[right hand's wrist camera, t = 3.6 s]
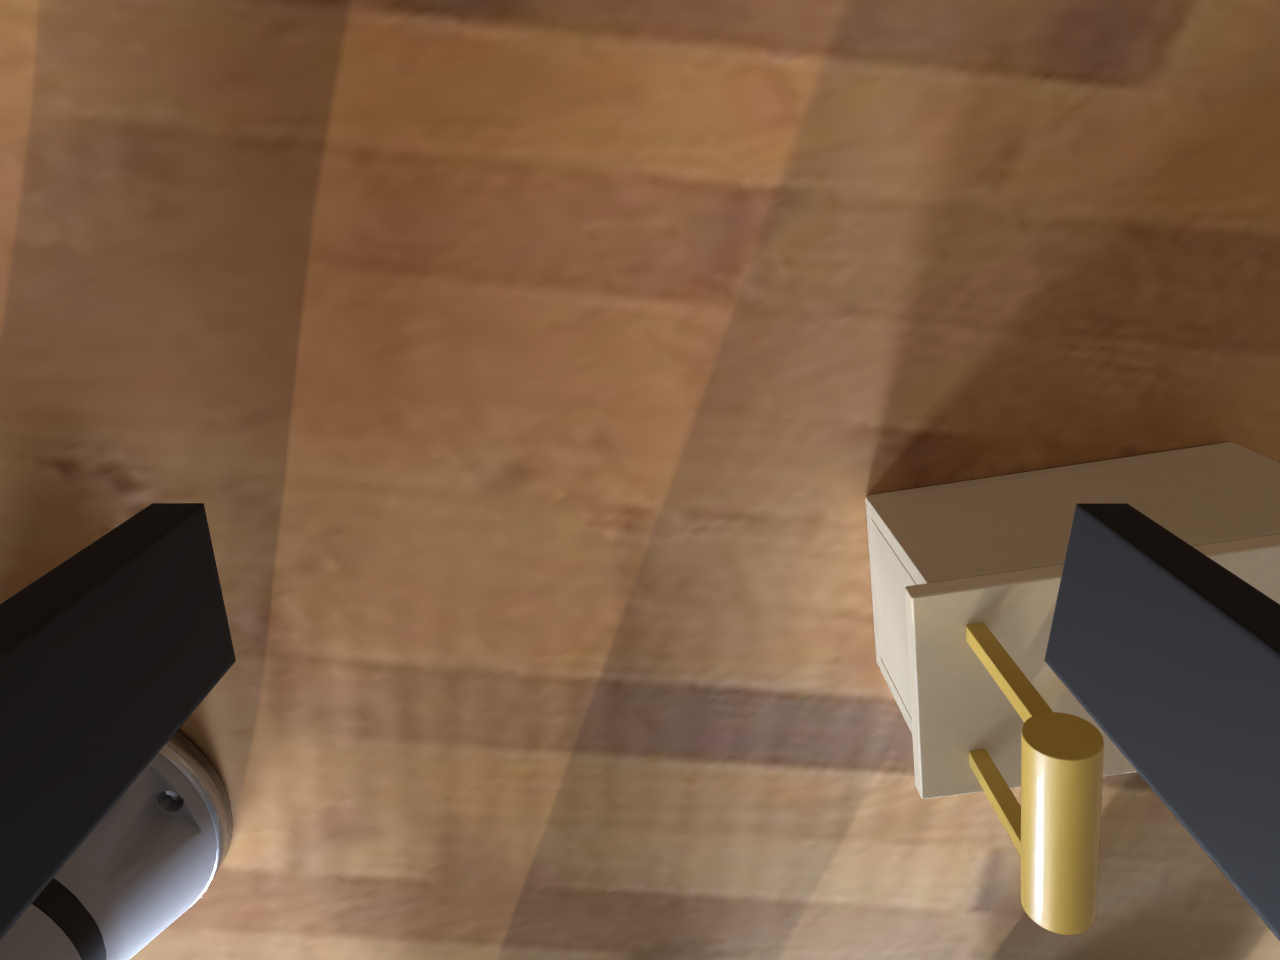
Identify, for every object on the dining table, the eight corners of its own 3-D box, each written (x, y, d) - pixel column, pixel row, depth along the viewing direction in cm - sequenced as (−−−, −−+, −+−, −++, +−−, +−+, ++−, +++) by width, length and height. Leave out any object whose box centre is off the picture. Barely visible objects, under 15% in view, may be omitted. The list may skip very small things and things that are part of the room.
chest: (876, 661, 42) (935, 781, 34) (864, 495, 39) (926, 581, 30) (1213, 615, 41) (1360, 727, 33) (1231, 441, 38) (1399, 515, 29)
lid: (914, 784, 34) (1000, 973, 26) (904, 585, 30) (999, 731, 22) (1361, 728, 33) (1597, 906, 25) (1400, 515, 29) (1686, 641, 21)
